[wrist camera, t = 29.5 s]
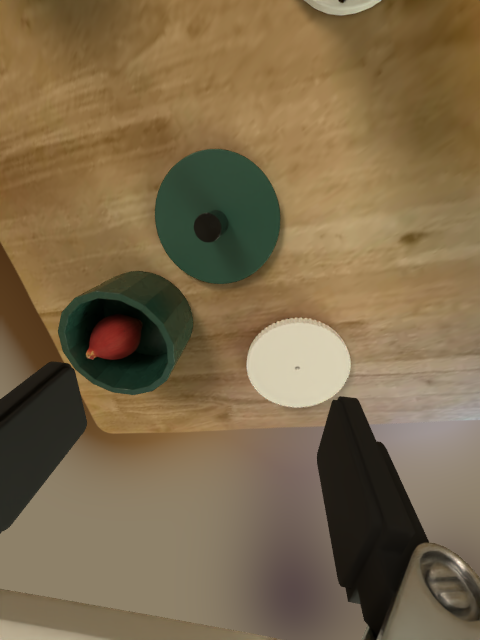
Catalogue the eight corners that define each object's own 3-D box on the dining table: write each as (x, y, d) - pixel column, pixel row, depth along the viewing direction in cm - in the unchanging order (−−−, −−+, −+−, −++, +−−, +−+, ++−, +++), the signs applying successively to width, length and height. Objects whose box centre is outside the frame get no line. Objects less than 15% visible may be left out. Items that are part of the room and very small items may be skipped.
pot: (93, 266, 36) (46, 286, 28) (192, 276, 35) (171, 299, 28) (107, 352, 42) (71, 387, 34) (193, 362, 41) (175, 400, 33)
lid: (154, 146, 29) (127, 134, 24) (288, 155, 28) (293, 145, 23) (162, 275, 36) (142, 290, 30) (271, 286, 35) (272, 304, 29)
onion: (143, 336, 41) (94, 370, 36) (122, 303, 39) (67, 335, 34) (160, 340, 36) (106, 379, 32) (137, 303, 34) (76, 339, 30)
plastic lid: (354, 384, 40) (359, 396, 38) (265, 404, 43) (265, 415, 41) (333, 301, 35) (338, 308, 32) (233, 330, 38) (231, 339, 36)
